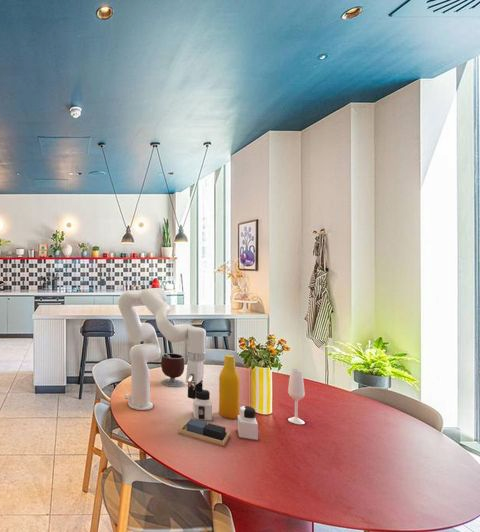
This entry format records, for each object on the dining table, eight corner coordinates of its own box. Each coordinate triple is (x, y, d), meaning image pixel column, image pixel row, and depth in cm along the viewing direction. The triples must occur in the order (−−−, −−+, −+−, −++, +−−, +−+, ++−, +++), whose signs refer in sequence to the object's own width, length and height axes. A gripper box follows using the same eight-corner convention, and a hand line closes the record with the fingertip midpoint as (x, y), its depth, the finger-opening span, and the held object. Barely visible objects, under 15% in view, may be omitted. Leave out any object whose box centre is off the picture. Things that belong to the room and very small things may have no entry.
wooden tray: (179, 434, 149) (179, 429, 149) (186, 425, 156) (186, 421, 156) (223, 447, 138) (223, 441, 138) (229, 437, 146) (229, 432, 146)
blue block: (186, 432, 149) (186, 423, 149) (191, 427, 153) (191, 418, 153) (203, 437, 145) (203, 427, 145) (207, 431, 149) (207, 422, 149)
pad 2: (204, 437, 144) (204, 428, 144) (208, 432, 149) (208, 423, 149) (222, 442, 140) (222, 433, 140) (225, 437, 145) (225, 427, 145)
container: (212, 421, 161) (212, 393, 161) (194, 419, 162) (194, 392, 162) (209, 414, 168) (209, 388, 168) (192, 413, 170) (192, 386, 170)
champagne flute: (307, 425, 158) (307, 372, 158) (291, 423, 159) (291, 371, 159) (301, 418, 164) (301, 368, 164) (285, 417, 166) (285, 367, 166)
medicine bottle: (255, 433, 150) (255, 405, 150) (257, 441, 143) (258, 412, 143) (237, 430, 152) (237, 403, 152) (239, 438, 145) (239, 409, 145)
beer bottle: (226, 420, 162) (227, 358, 162) (215, 412, 171) (215, 353, 171) (243, 418, 164) (244, 357, 164) (231, 410, 173) (231, 352, 173)
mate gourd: (169, 378, 223) (169, 347, 223) (188, 383, 212) (188, 351, 212) (155, 383, 212) (155, 351, 212) (174, 389, 202) (175, 355, 202)
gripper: (193, 350, 160) (193, 387, 160) (180, 358, 146) (179, 398, 146) (210, 353, 156) (209, 390, 156) (198, 362, 142) (197, 403, 142)
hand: (195, 394), depth 151 cm, fingers open, 9 cm apart
